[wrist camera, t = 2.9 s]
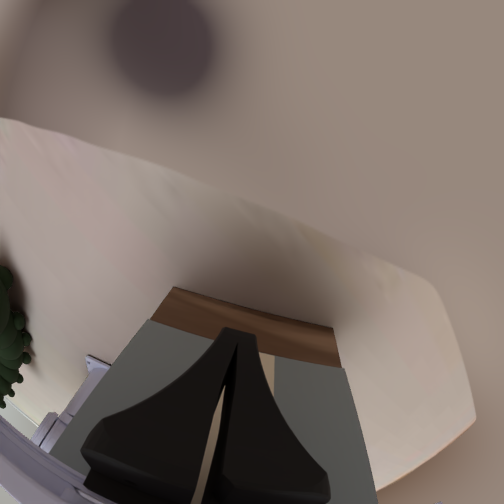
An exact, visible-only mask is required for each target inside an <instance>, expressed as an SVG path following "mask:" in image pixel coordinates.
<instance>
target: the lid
mask: <svg viewBox="0 0 504 504" xmlns="http://www.w3.org/2000/svg"><path fill="white" fill-rule="evenodd" d="M213 342H214V340H212V339H208V338H205V337H201V336H198V335H195V334H191V333H188V332H185V331H182V330H179V329H176V328H173V327H170V326H167V325H164V324H161V323H158V322H155V321H152V320H149V319H148V320H147V321H146V322H145V323H144V325H143V326H142V327H141V328H140V330H139V331H138V332H137V333H136V335H135V336H134V337H133V338H132V340H131V341H130V342H129V344H128V345H127V346H126V347H125V349H124V350H123V351H122V353H121V354H120V355H119V356H118V358H117V359H116V360H115V362H114V363H113V364H112V366H111V367H110V368H109V369H108V371H107V372H106V373H105V375H104V376H103V377H102V379H101V380H100V381H99V383H98V384H97V385H96V387H95V388H94V389H93V391H92V392H91V393H90V395H89V396H88V398H87V399H86V400H85V402H84V403H83V404H82V406H81V407H80V409H79V410H78V411H77V413H76V414H75V416H74V417H73V418H72V420H71V421H70V423H69V424H68V425H67V427H66V428H65V430H64V431H63V433H62V434H61V436H60V437H59V438H58V440H57V441H56V443H55V444H54V446H53V447H52V449H51V450H50V452H49V454H50V455H51V456H53V457H54V458H56V459H58V460H59V461H61V462H62V463H64V464H65V465H67V466H69V467H70V468H72V469H74V470H75V471H77V472H79V473H81V474H82V475H84V476H86V477H87V475H88V473H89V471H90V469H91V467H90V466H89V465H88V463H87V462H86V461H85V459H84V458H83V456H82V454H81V452H80V449H81V447H82V445H83V443H84V442H85V440H86V438H87V436H88V434H89V433H90V432H91V430H92V429H93V428H94V427H95V425H96V424H97V423H98V422H99V421H100V420H101V419H102V418H104V417H107V416H109V415H112V414H115V413H117V412H120V411H122V410H125V409H127V408H129V407H131V406H133V405H135V404H137V403H139V402H141V401H143V400H145V399H147V398H149V397H150V396H152V395H154V394H155V393H157V392H159V391H160V390H162V389H163V388H164V387H166V386H167V385H169V384H170V383H172V382H173V381H174V380H176V379H177V378H178V377H179V376H181V375H182V374H183V373H184V372H185V371H186V370H188V369H189V368H190V367H191V366H192V365H193V364H194V363H195V362H196V361H197V360H198V359H199V358H200V357H201V356H202V355H203V354H204V352H205V351H206V350H207V349H208V348H209V347H210V346H211V344H212V343H213ZM259 355H260V359H261V363H262V367H263V370H264V373H265V376H266V379H267V382H268V385H269V387H270V390H271V392H272V395H273V397H274V399H275V401H276V404H277V405H278V407H279V409H280V411H281V413H282V415H283V417H284V419H285V420H286V422H287V424H288V425H289V427H290V428H291V430H292V431H293V433H294V434H295V436H296V437H297V439H298V440H299V441H300V443H301V444H302V445H303V447H304V448H305V449H306V450H307V452H308V453H309V454H310V455H311V456H312V457H313V459H314V460H315V461H316V462H317V463H318V464H319V465H320V466H321V467H322V468H323V469H324V470H325V471H326V472H327V474H328V479H329V484H330V489H331V499H330V501H329V502H328V503H326V504H378V500H377V495H376V490H375V485H374V481H373V476H372V471H371V467H370V463H369V458H368V454H367V450H366V446H365V442H364V438H363V434H362V430H361V426H360V422H359V418H358V415H357V411H356V407H355V404H354V400H353V396H352V393H351V389H350V386H349V383H348V379H347V376H346V372H345V369H344V368H337V367H331V366H325V365H320V364H314V363H309V362H303V361H298V360H293V359H288V358H284V357H279V356H274V355H270V354H266V353H261V352H259ZM224 388H225V386H224ZM223 396H224V389H223V391H222V394H221V397H220V400H219V402H218V405H217V408H216V410H215V413H214V416H213V420H212V425H211V429H210V433H209V437H208V441H207V445H206V450H205V454H204V458H203V462H202V466H201V471H200V475H199V479H198V483H197V487H196V490H195V493H194V496H193V498H192V501H191V504H201V501H202V497H203V493H204V489H205V486H206V482H207V478H208V474H209V470H210V466H211V462H212V458H213V454H214V450H215V446H216V442H217V438H218V432H219V426H220V419H221V411H222V403H223Z"/></svg>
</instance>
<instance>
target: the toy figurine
mask: <svg viewBox="0 0 504 504" xmlns="http://www.w3.org/2000/svg"><path fill="white" fill-rule="evenodd" d="M12 283H13V277H12V275H11V273H10V271H9V270H8V269H7V268H5V267H4V266H1V265H0V407H1V408H3V409H4V408H5V407H6V404H5V402H4V401H3V399H4V396H5V395H7V394H8V395H9V396H10V397H14V395H15V392H14V391H13V389H11V387H12V385H11V384H13V383H15V382H17V383H22V382H23V377H22V375H21V374H20V373H19V369H18V368H20V366H21V365H22V363H24V364H29V363H30V362H31V356H30V355H29V353H27V352H23V350H24V346H28V345H30V342H31V338H30V336H29V334H27V333H26V332H25V333H22V331H21V329H22V328H24V325H25V319H24V316H23V315H22V314H20V313H19V312H13V311H12V310H11V309H10V303H9V297H8V293H7V290H8V289H10V288H11V286H12Z"/></svg>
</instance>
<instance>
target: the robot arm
mask: <svg viewBox="0 0 504 504" xmlns="http://www.w3.org/2000/svg"><path fill="white" fill-rule="evenodd" d="M85 360H86V364H87V368H88V372H89V375H88V377H87V378H86V380H85V381H84V382H83V384H82V385H81V387H80V388H79V389H78V391H77V392H76V394H75V395H74V397H73V398H72V400H71V401H70V402H69V404H68V405H67V407H66V408H65V410H64V411H63V412H62V413H61V414H60V416H59V417H57V416H58V414H57V413H56V412H53V413H52V412H49V413H48V414H47V415H46V417H45V418H44V420H43V421H42V422H41V424H40V425H39V427H38V428H37V430H36V431H35V433H34V435H33V437H32V438H31V440H29V439H28V438H27V437H25V436H24V435H23V434H22V433H20V432H19V431H18V430H17V429H15V428H14V427H13V426H12V425H11V424H10V423H9V422H7V421H6V420H5V419H4V418H3V417H2V416H1V415H0V486H1V487H2V488H3V489H4V490H6V491H7V492H8V493H9V494H10V495H11V496H12V497H13V498H14V499H15V500H16V501H17V502H19V503H20V504H191V501H192V498H193V496H194V493H195V490H196V487H197V483H198V479H199V475H200V471H201V466H202V462H203V458H204V454H205V450H206V445H207V441H208V437H209V433H210V429H211V425H212V420H213V416H214V413H215V410H216V408H217V405H218V402H219V400H220V397H221V394H222V391H223V389H224V396H223V403H222V411H221V419H220V426H219V432H218V438H217V442H216V446H215V450H214V454H213V458H212V462H211V466H210V470H209V474H208V478H207V482H206V486H205V489H204V493H203V497H202V501H201V504H326V503H328V502H329V501H330V499H331V489H330V484H329V479H328V474H327V472H326V471H325V470H324V469H323V468H322V467H321V466H320V465H319V464H318V463H317V462H316V461H315V460H314V459H313V457H312V456H311V455H310V454H309V453H308V452H307V450H306V449H305V448H304V447H303V445H302V444H301V443H300V441H299V440H298V439H297V437H296V436H295V434H294V433H293V431H292V430H291V428H290V427H289V425H288V424H287V422H286V420H285V419H284V417H283V415H282V413H281V411H280V409H279V407H278V405H277V404H276V401H275V399H274V397H273V395H272V392H271V390H270V387H269V385H268V382H267V379H266V376H265V373H264V370H263V367H262V363H261V359H260V355H259V351H258V345H257V337H256V335H255V334H252V333H248V332H244V331H240V330H236V329H232V328H229V327H223V328H222V329H221V331H220V333H219V335H218V336H217V338H216V339H215V340H214V342H213V343H212V344H211V346H210V347H209V348H208V349H207V350H206V351H205V352H204V354H203V355H202V356H201V357H200V358H199V359H198V360H197V361H196V362H195V363H194V364H193V365H192V366H191V367H190V368H189V369H188V370H186V371H185V372H184V373H183V374H182V375H181V376H179V377H178V378H177V379H176V380H174V381H173V382H172V383H170V384H169V385H167V386H166V387H164V388H163V389H162V390H160V391H159V392H157V393H155V394H154V395H152V396H150V397H149V398H147V399H145V400H143V401H141V402H139V403H137V404H135V405H133V406H131V407H129V408H127V409H125V410H122V411H120V412H117V413H115V414H112V415H109V416H107V417H104V418H102V419H101V420H100V421H99V422H98V423H97V424H96V425H95V427H94V428H93V429H92V430H91V432H90V433H89V434H88V436H87V438H86V440H85V442H84V443H83V445H82V447H81V449H80V452H81V454H82V456H83V458H84V459H85V461H86V462H87V463H88V465H89V466H90V467H91V469H90V471H89V473H88V475H87V477H86V476H84V475H82V474H81V473H79V472H77V471H75V470H74V469H72V468H70V467H69V466H67V465H65V464H64V463H62V462H61V461H59V460H58V459H56V458H54V457H53V456H51V455H50V454H49V452H50V450H51V449H52V447H53V446H54V444H55V443H56V441H57V440H58V438H59V437H60V436H61V434H62V433H63V431H64V430H65V428H66V427H67V425H68V424H69V423H70V421H71V420H72V418H73V417H74V416H75V414H76V413H77V411H78V410H79V409H80V407H81V406H82V404H83V403H84V402H85V400H86V399H87V398H88V396H89V395H90V393H91V392H92V391H93V389H94V388H95V387H96V385H97V384H98V383H99V381H100V380H101V379H102V377H103V376H104V375H105V373H106V372H107V371H108V369H109V368H110V367H111V366H109V365H107V364H105V363H103V362H101V361H99V360H97V359H94V358H92V357H90V356H88V355H87V356H86V357H85ZM224 386H225V388H224ZM435 504H442V502H438V503H435Z"/></svg>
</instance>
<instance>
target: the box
mask: <svg viewBox="0 0 504 504" xmlns="http://www.w3.org/2000/svg"><path fill="white" fill-rule="evenodd" d="M150 320H152V321H155V322H158V323H161V324H164V325H167V326H170V327H173V328H176V329H179V330H182V331H185V332H188V333H191V334H195V335H198V336H201V337H205V338H208V339H212V340H215V339H216V338H217V336H218V335H219V333H220V331H221V329H222V328H223V327H229V328H232V329H236V330H240V331H244V332H248V333H252V334H255V335H256V337H257V345H258V351H259V352H261V353H266V354H270V355H274V356H279V357H284V358H288V359H293V360H298V361H303V362H309V363H314V364H320V365H325V366H331V367H337V368H342V366H341V362H340V357H339V353H338V348H337V344H336V339H335V335H334V331H333V328H329V327H325V326H320V325H316V324H311V323H307V322H302V321H298V320H294V319H290V318H286V317H281V316H277V315H273V314H269V313H265V312H261V311H257V310H254V309H250V308H246V307H242V306H239V305H235V304H231V303H228V302H224V301H220V300H217V299H213V298H210V297H206V296H203V295H199V294H196V293H193V292H189V291H186V290H183V289H179V288H176V287H173V288H172V289H171V291H170V292H169V293H168V295H167V296H166V297H165V299H164V300H163V302H162V303H161V304H160V306H159V307H158V309H157V310H156V311H155V313H154V314H153V316H152V317H151V319H150Z"/></svg>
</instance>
